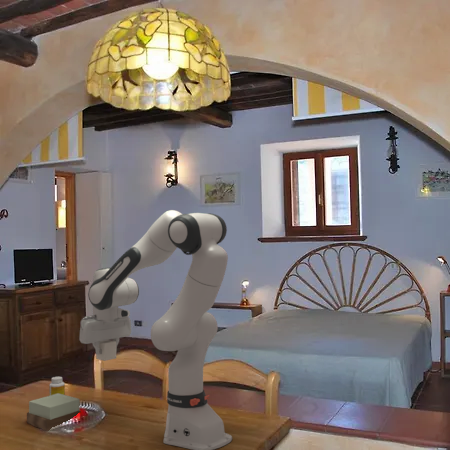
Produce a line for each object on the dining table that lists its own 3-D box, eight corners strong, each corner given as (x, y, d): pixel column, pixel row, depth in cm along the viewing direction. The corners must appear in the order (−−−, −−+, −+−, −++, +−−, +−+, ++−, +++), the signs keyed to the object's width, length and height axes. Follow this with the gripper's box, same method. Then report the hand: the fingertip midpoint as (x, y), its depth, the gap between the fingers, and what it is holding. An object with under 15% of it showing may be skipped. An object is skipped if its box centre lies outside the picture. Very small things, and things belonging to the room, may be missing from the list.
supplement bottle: (67, 404, 216) (66, 377, 216) (53, 407, 213) (52, 380, 213) (61, 401, 220) (60, 375, 221) (47, 404, 217) (46, 377, 217)
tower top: (79, 410, 198) (79, 398, 198) (50, 419, 188) (50, 407, 188) (58, 404, 205) (58, 393, 205) (29, 413, 195) (29, 401, 195)
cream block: (116, 358, 201) (116, 341, 201) (104, 360, 198) (104, 343, 198) (107, 356, 205) (107, 339, 205) (96, 358, 201) (95, 341, 201)
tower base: (80, 422, 197) (80, 411, 197) (47, 432, 187) (47, 420, 187) (60, 415, 206) (59, 403, 206) (26, 424, 196) (26, 412, 196)
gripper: (86, 317, 192) (86, 358, 191) (133, 310, 207) (134, 348, 207) (75, 316, 196) (76, 356, 195) (122, 309, 211) (123, 347, 211)
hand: (106, 352), depth 201 cm, fingers closed on cream block, 5 cm apart
